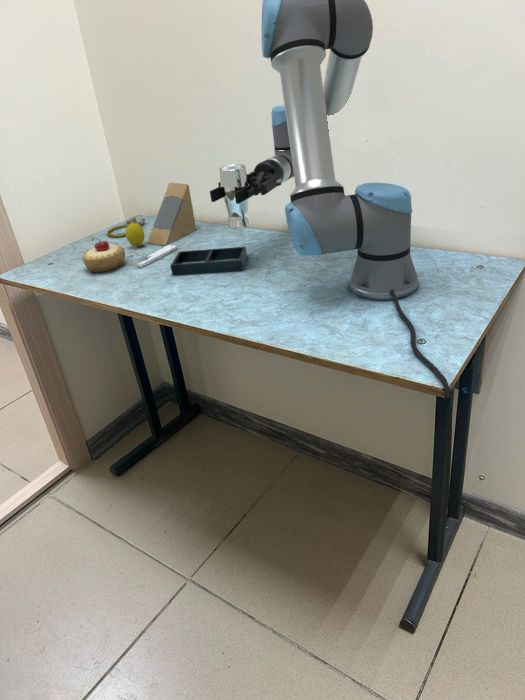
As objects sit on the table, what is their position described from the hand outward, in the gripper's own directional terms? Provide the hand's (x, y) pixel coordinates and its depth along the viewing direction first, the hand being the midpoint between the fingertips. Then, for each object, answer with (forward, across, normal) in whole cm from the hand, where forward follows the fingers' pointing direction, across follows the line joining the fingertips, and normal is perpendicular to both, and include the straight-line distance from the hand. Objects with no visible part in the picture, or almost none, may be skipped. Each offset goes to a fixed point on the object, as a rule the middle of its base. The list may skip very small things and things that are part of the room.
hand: (224, 197), depth 134 cm
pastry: (+9, +40, -20) cm, 46 cm away
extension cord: (-19, +58, -20) cm, 64 cm away
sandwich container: (-18, +38, -20) cm, 46 cm away
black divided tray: (-1, +9, -20) cm, 22 cm away
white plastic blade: (-2, +30, -20) cm, 36 cm away
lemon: (-7, +42, -20) cm, 47 cm away
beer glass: (-5, 0, -9) cm, 10 cm away
